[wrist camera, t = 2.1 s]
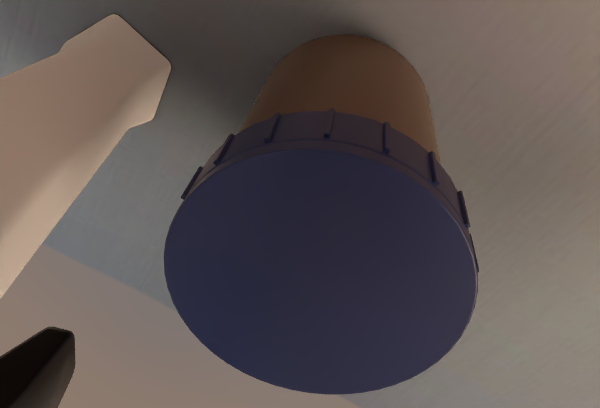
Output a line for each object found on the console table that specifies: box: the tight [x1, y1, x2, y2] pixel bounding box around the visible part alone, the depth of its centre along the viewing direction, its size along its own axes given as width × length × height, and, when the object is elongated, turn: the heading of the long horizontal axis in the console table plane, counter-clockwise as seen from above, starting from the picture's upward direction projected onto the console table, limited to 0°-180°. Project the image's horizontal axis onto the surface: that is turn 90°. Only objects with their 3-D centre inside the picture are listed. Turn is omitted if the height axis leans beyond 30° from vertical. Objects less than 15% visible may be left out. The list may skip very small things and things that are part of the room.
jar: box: [238, 35, 441, 165], centre depth 16 cm, size 6×6×9 cm
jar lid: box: [164, 108, 479, 394], centre depth 12 cm, size 7×7×2 cm
